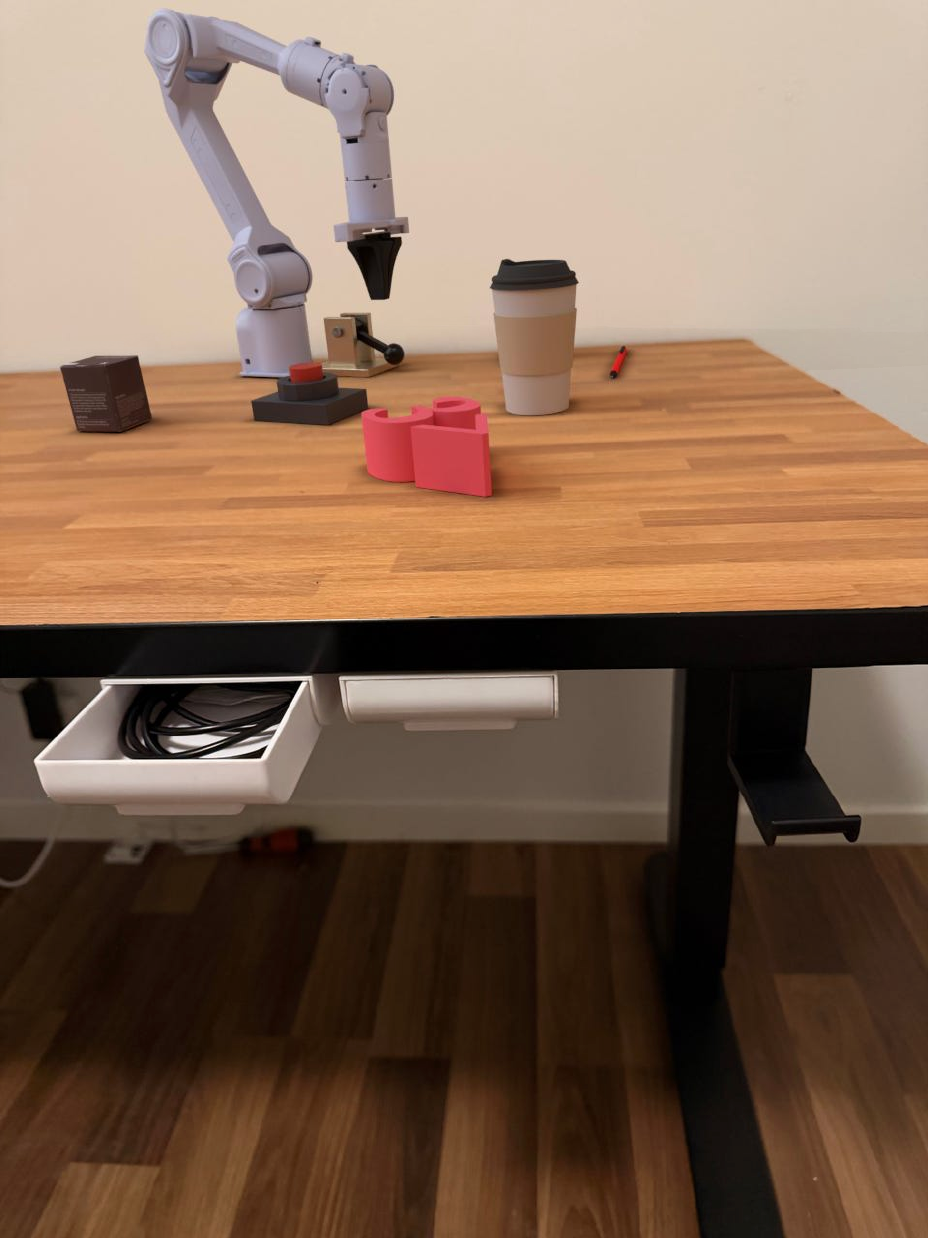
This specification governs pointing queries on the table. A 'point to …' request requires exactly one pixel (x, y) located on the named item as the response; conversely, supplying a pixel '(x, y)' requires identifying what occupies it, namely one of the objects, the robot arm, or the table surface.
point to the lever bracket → (351, 347)
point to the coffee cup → (535, 333)
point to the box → (106, 393)
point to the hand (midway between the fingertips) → (380, 299)
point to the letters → (431, 446)
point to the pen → (618, 362)
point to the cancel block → (310, 402)
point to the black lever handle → (380, 345)
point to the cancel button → (306, 372)
